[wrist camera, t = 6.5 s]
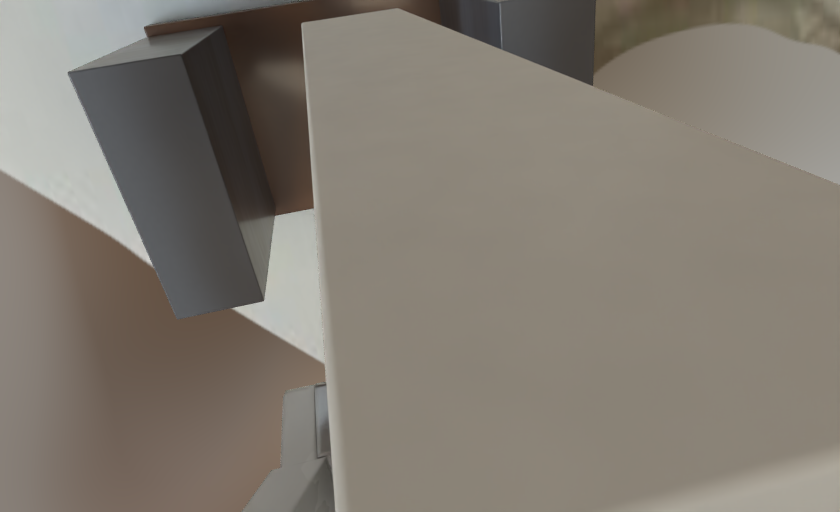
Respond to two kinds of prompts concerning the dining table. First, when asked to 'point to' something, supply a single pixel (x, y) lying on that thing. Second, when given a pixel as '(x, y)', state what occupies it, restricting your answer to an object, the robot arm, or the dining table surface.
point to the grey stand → (257, 125)
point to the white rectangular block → (559, 291)
